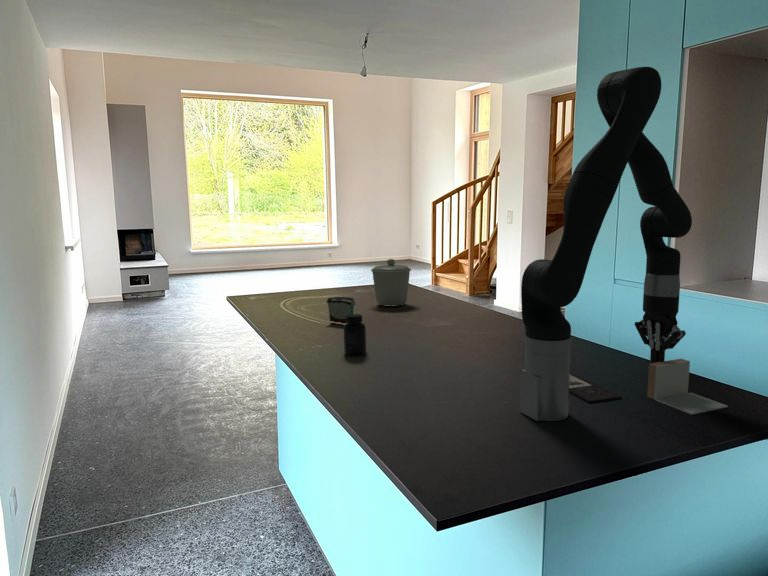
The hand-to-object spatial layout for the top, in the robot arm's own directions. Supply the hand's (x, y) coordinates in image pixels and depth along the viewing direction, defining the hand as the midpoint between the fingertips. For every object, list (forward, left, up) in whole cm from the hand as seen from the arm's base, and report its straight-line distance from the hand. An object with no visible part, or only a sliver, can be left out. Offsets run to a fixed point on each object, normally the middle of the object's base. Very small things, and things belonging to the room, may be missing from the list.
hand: (657, 364), depth 131 cm
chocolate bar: (-15, +8, -7) cm, 19 cm away
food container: (-45, +106, -7) cm, 115 cm away
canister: (-14, +134, -7) cm, 134 cm away
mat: (0, -10, -6) cm, 12 cm away
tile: (0, -3, -7) cm, 7 cm away
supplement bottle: (-55, +63, -7) cm, 84 cm away
